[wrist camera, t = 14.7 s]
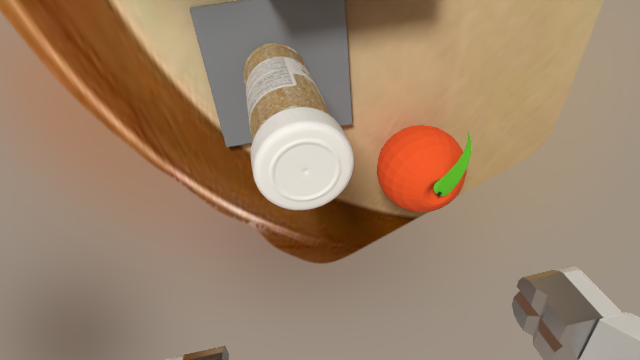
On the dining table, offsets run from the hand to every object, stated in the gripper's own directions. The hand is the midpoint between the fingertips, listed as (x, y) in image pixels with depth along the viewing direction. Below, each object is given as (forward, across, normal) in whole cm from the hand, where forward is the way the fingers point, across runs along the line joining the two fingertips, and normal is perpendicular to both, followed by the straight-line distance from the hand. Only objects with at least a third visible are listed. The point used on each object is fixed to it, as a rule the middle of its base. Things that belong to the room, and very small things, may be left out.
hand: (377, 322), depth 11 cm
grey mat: (+22, 0, 0) cm, 22 cm away
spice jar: (+22, +1, 0) cm, 22 cm away
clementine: (+22, -10, +9) cm, 26 cm away
